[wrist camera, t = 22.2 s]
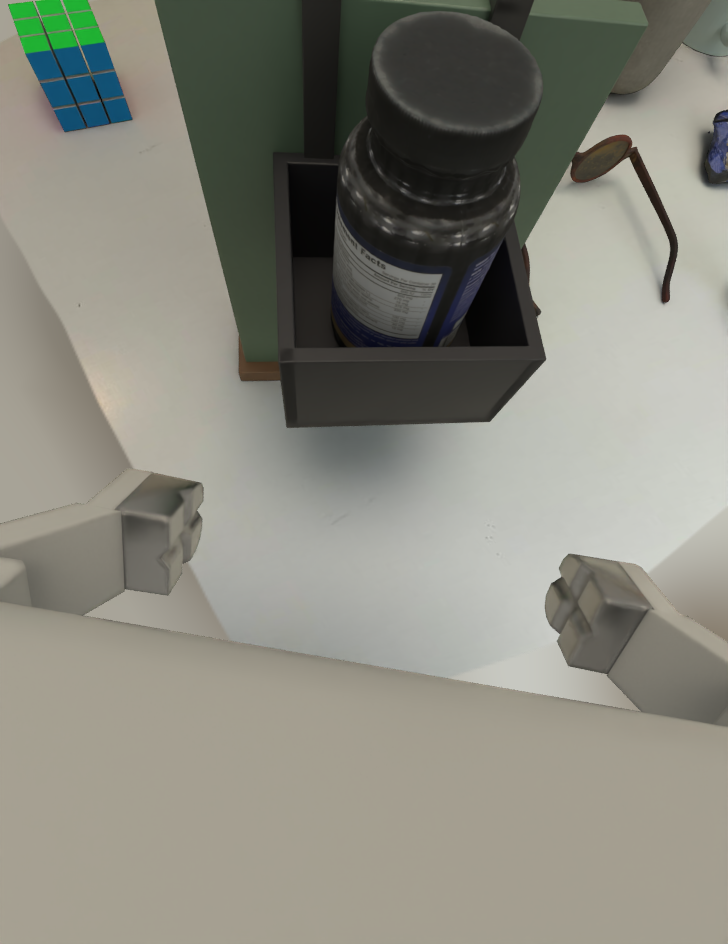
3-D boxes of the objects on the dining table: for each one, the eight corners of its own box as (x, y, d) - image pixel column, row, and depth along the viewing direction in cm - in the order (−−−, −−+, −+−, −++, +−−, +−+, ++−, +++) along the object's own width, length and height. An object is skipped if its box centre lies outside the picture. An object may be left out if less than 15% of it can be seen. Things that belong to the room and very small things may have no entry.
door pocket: (490, 422, 22) (546, 359, 17) (286, 428, 21) (278, 362, 15) (461, 259, 25) (501, 161, 20) (281, 256, 24) (272, 150, 18)
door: (462, 377, 36) (683, 24, 15) (241, 381, 34) (120, -29, 12) (451, 313, 38) (634, -85, 16) (241, 312, 35) (135, -149, 14)
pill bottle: (418, 259, 24) (502, -22, 13) (474, 355, 22) (617, 123, 12) (308, 293, 22) (306, 8, 12) (360, 397, 21) (410, 177, 10)
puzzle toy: (132, 120, 40) (104, 41, 35) (64, 132, 39) (24, 52, 34) (114, 76, 42) (85, -6, 36) (48, 86, 40) (7, 3, 35)
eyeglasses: (614, 177, 45) (650, 125, 40) (674, 303, 41) (723, 261, 36) (476, 186, 42) (497, 132, 38) (525, 320, 38) (556, 278, 33)
